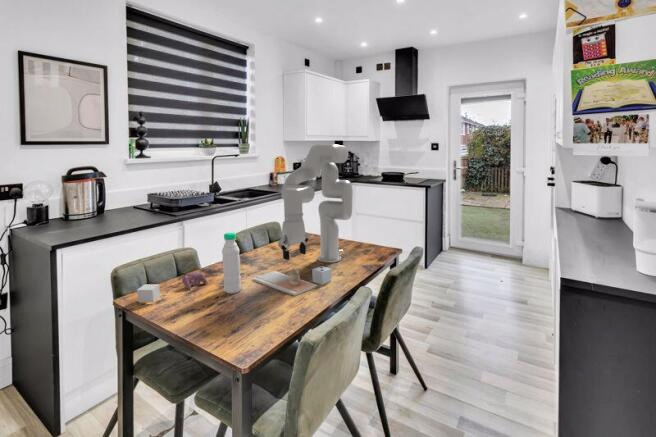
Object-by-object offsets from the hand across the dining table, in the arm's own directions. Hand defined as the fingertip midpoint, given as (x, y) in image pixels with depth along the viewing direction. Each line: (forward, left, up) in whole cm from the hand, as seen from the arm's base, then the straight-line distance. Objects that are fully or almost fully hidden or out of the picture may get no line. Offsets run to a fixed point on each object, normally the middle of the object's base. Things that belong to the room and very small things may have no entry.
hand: (294, 256), depth 166 cm
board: (0, -7, -14) cm, 15 cm away
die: (-13, +4, -14) cm, 19 cm away
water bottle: (+20, -17, -14) cm, 30 cm away
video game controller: (+28, -34, -14) cm, 46 cm away
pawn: (0, 0, -13) cm, 13 cm away
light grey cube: (+48, -33, -14) cm, 60 cm away
